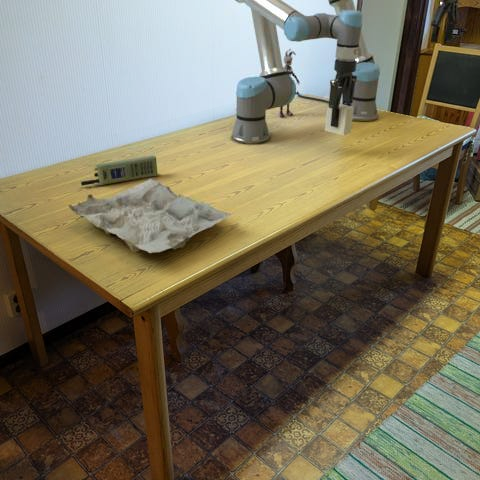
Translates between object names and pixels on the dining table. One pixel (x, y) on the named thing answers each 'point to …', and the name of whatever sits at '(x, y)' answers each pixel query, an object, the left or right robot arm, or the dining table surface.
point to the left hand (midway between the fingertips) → (338, 124)
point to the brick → (340, 120)
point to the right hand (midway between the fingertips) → (441, 41)
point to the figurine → (289, 69)
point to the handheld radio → (124, 170)
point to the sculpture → (149, 216)
